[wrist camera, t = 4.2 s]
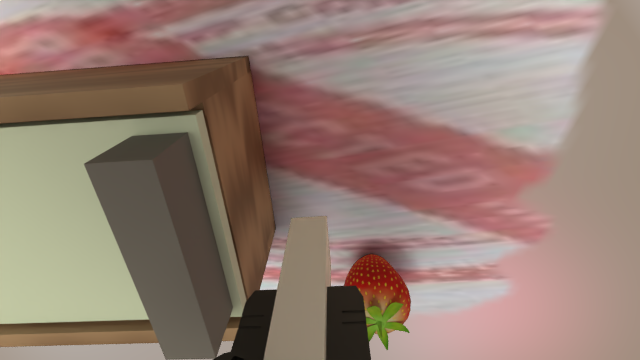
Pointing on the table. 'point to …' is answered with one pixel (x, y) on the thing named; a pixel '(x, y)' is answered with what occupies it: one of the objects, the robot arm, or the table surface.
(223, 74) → the box
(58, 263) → the lid
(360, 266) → the fruit
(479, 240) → the table surface
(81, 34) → the table surface
